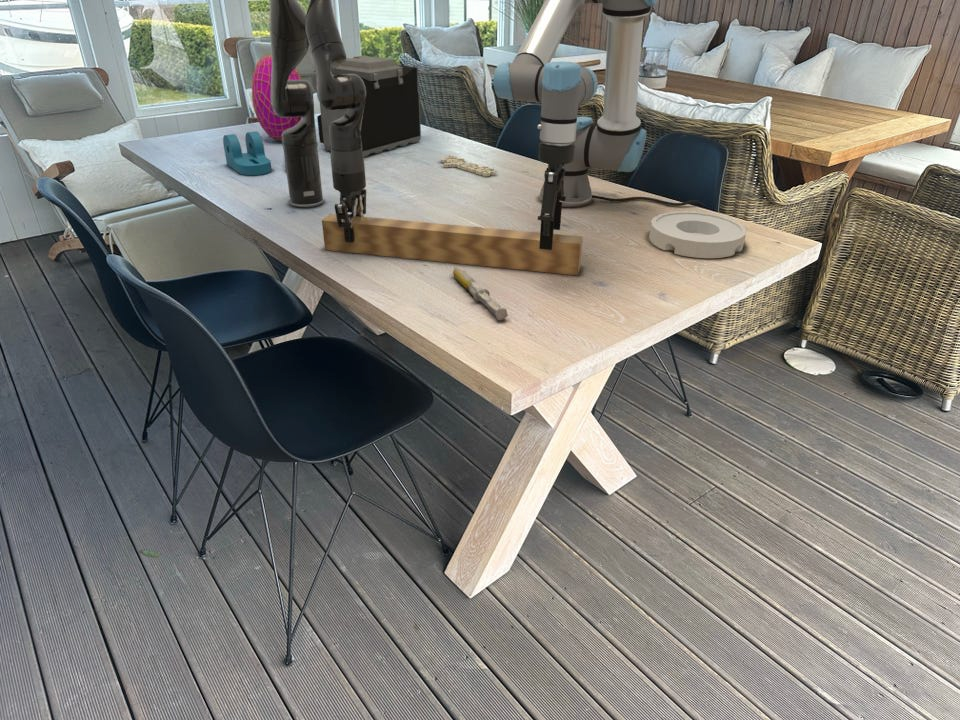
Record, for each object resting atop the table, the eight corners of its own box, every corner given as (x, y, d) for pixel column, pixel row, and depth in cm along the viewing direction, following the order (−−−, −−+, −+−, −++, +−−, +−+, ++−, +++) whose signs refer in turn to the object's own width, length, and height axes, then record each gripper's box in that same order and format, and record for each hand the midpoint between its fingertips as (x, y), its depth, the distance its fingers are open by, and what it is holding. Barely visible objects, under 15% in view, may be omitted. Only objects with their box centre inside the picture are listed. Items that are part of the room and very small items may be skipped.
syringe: (449, 274, 155) (449, 263, 153) (465, 272, 156) (464, 260, 154) (490, 323, 135) (491, 310, 133) (508, 319, 136) (508, 307, 134)
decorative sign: (429, 159, 238) (452, 154, 244) (429, 162, 238) (452, 157, 244) (480, 175, 221) (502, 170, 227) (480, 178, 221) (502, 173, 227)
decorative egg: (293, 132, 276) (283, 50, 261) (319, 140, 264) (310, 56, 249) (249, 139, 265) (236, 54, 250) (273, 148, 253) (261, 60, 238)
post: (580, 267, 160) (583, 236, 156) (577, 275, 155) (580, 244, 152) (333, 242, 171) (330, 213, 168) (324, 250, 167) (321, 220, 163)
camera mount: (227, 164, 233) (221, 132, 227) (257, 160, 238) (252, 129, 233) (244, 176, 220) (239, 143, 215) (276, 172, 225) (271, 139, 220)
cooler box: (383, 133, 276) (378, 52, 261) (425, 141, 265) (422, 56, 250) (314, 150, 251) (304, 61, 235) (358, 160, 240) (350, 67, 224)
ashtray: (641, 224, 185) (643, 210, 183) (728, 226, 184) (731, 212, 182) (658, 257, 165) (660, 241, 163) (755, 259, 164) (759, 243, 162)
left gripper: (345, 159, 165) (351, 227, 173) (319, 174, 153) (327, 247, 161) (374, 161, 163) (379, 229, 172) (351, 177, 151) (357, 250, 160)
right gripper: (547, 129, 156) (541, 220, 166) (529, 153, 134) (524, 256, 145) (580, 131, 154) (572, 223, 165) (567, 156, 133) (559, 259, 143)
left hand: (354, 237), depth 166 cm, fingers closed on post, 5 cm apart
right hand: (550, 238), depth 155 cm, fingers open, 13 cm apart
